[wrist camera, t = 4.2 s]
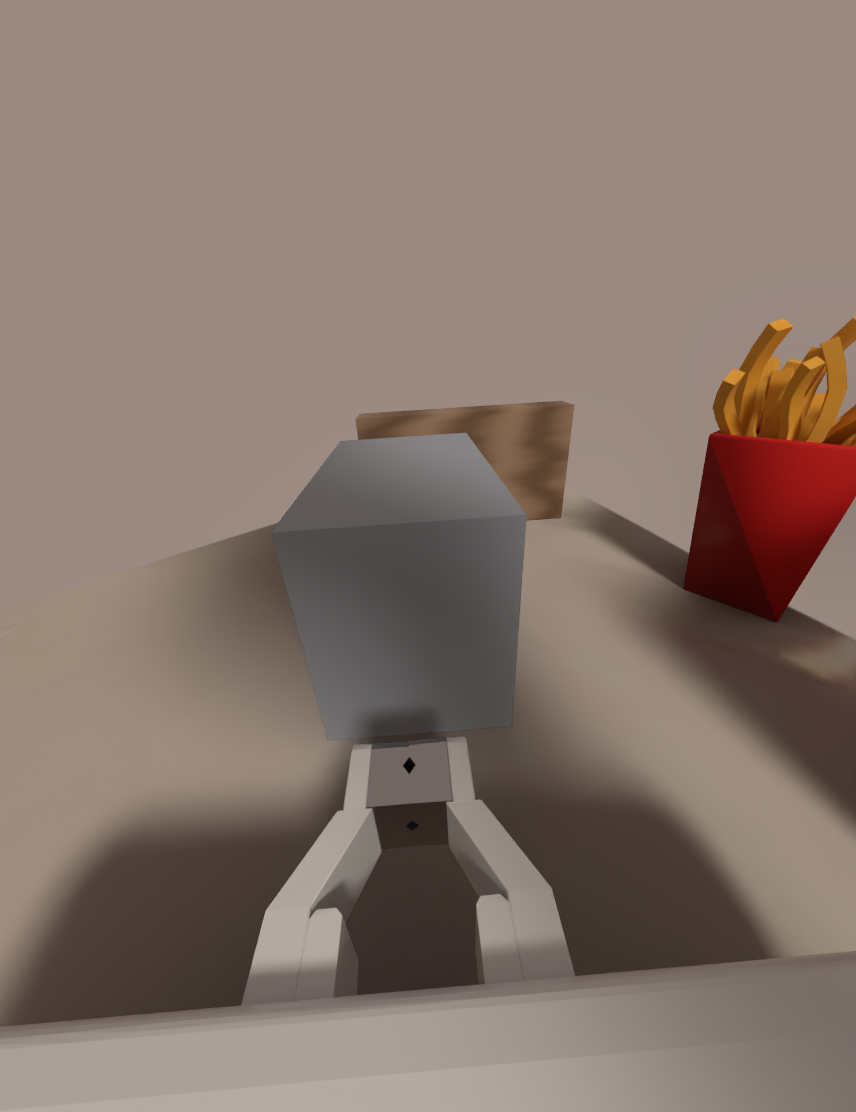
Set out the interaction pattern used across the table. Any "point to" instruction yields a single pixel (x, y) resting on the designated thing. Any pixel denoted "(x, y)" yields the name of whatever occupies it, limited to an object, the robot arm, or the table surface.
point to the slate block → (406, 586)
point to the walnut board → (499, 444)
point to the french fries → (773, 475)
